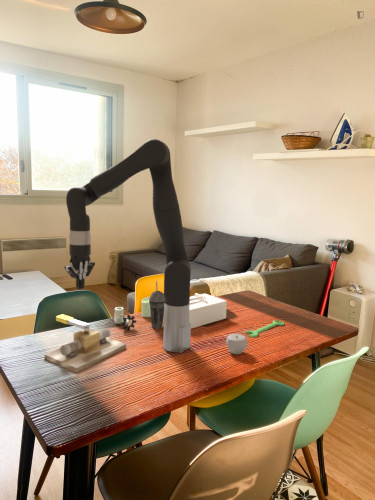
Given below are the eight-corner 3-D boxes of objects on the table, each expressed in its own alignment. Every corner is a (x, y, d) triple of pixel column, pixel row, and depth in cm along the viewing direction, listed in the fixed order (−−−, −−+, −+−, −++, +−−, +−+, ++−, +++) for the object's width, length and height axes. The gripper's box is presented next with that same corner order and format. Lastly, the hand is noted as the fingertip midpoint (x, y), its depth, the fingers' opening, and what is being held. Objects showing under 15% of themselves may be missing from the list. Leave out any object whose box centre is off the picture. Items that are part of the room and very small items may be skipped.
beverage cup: (168, 325, 160) (169, 280, 157) (160, 331, 154) (161, 284, 151) (153, 322, 163) (154, 278, 160) (145, 327, 157) (145, 281, 154)
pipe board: (126, 347, 137) (126, 328, 136) (76, 372, 118) (76, 350, 117) (95, 337, 146) (95, 318, 144) (44, 358, 126) (43, 337, 125)
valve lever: (91, 331, 131) (91, 323, 131) (85, 333, 129) (85, 326, 128) (62, 321, 139) (62, 314, 139) (56, 323, 137) (56, 316, 136)
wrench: (242, 336, 154) (252, 340, 151) (242, 332, 154) (252, 336, 150) (276, 321, 171) (286, 325, 168) (276, 317, 171) (286, 320, 167)
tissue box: (225, 318, 172) (227, 295, 170) (184, 330, 156) (185, 305, 154) (204, 310, 183) (205, 288, 181) (163, 321, 167) (164, 297, 165)
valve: (109, 322, 162) (121, 331, 152) (109, 308, 161) (121, 316, 151) (123, 320, 165) (136, 328, 156) (124, 305, 164) (136, 313, 155)
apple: (233, 358, 131) (234, 341, 130) (220, 350, 138) (221, 333, 137) (251, 355, 135) (252, 337, 134) (238, 346, 142) (239, 330, 141)
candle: (147, 318, 168) (148, 300, 167) (139, 315, 171) (139, 298, 169) (154, 315, 172) (154, 298, 171) (146, 313, 175) (146, 296, 174)
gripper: (72, 245, 129) (72, 294, 132) (100, 241, 140) (100, 286, 143) (58, 243, 133) (59, 290, 136) (86, 239, 144) (87, 283, 147)
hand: (80, 288), depth 139 cm, fingers closed
